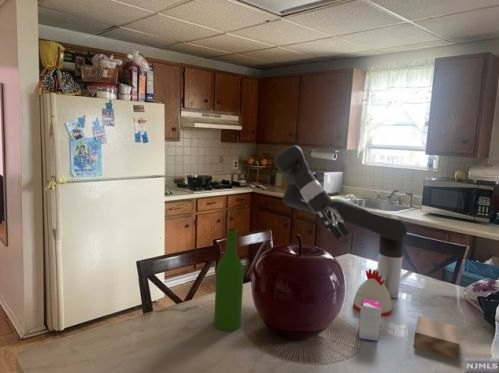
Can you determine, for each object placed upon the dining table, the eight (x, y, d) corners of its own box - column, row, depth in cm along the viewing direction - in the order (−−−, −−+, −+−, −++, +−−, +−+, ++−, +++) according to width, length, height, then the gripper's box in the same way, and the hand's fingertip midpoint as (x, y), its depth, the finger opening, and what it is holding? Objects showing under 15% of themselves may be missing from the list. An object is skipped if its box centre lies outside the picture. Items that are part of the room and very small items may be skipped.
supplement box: (378, 342, 117) (382, 308, 115) (359, 339, 118) (362, 306, 116) (376, 333, 122) (379, 300, 121) (357, 330, 123) (360, 298, 122)
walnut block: (413, 346, 116) (415, 332, 115) (416, 330, 126) (418, 316, 126) (456, 359, 110) (458, 343, 110) (456, 340, 121) (458, 326, 120)
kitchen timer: (369, 297, 150) (372, 262, 148) (398, 312, 139) (403, 273, 137) (345, 304, 143) (348, 267, 141) (375, 320, 131) (379, 280, 129)
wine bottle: (245, 321, 125) (250, 228, 121) (233, 334, 117) (238, 234, 113) (222, 315, 129) (226, 224, 125) (209, 326, 121) (212, 230, 117)
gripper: (314, 201, 134) (340, 239, 129) (299, 204, 122) (328, 245, 117) (330, 189, 131) (358, 227, 126) (317, 190, 119) (347, 233, 114)
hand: (343, 236), depth 122 cm, fingers open, 8 cm apart
